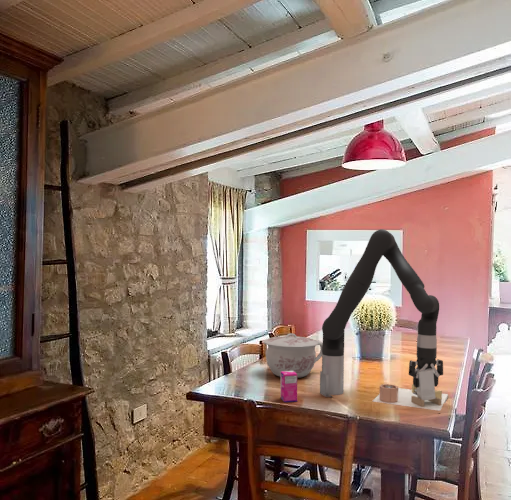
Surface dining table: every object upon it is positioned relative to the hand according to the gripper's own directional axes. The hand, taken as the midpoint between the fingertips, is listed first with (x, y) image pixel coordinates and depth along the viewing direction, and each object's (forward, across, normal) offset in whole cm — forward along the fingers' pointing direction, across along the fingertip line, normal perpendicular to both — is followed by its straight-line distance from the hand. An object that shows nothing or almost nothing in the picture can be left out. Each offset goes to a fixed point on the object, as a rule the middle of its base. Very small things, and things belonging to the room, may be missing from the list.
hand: (425, 386), depth 209 cm
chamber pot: (+9, -34, +62) cm, 71 cm away
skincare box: (+5, 0, 0) cm, 5 cm away
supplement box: (+9, -50, +22) cm, 55 cm away
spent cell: (+7, -12, +8) cm, 16 cm away
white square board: (+8, -1, +9) cm, 12 cm away
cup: (+7, -12, +8) cm, 16 cm away
